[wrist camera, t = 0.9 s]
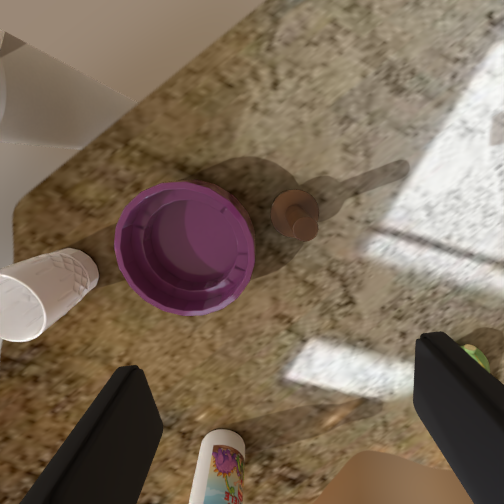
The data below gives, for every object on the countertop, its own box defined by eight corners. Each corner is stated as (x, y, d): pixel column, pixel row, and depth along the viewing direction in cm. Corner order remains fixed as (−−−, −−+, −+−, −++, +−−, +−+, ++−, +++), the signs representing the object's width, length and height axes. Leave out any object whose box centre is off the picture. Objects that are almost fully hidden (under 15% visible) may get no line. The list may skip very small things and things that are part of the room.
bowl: (118, 256, 34) (93, 272, 29) (170, 153, 30) (151, 150, 24) (217, 312, 36) (210, 336, 31) (278, 224, 32) (282, 235, 27)
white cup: (113, 266, 34) (58, 304, 25) (88, 306, 37) (28, 354, 27) (60, 231, 33) (-20, 257, 24) (37, 275, 35) (-45, 314, 26)
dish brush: (261, 216, 32) (261, 238, 22) (286, 178, 30) (298, 184, 20) (296, 239, 32) (311, 269, 23) (322, 203, 31) (350, 220, 21)
